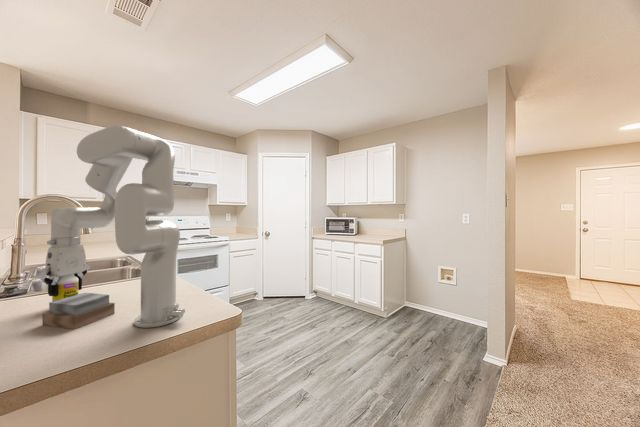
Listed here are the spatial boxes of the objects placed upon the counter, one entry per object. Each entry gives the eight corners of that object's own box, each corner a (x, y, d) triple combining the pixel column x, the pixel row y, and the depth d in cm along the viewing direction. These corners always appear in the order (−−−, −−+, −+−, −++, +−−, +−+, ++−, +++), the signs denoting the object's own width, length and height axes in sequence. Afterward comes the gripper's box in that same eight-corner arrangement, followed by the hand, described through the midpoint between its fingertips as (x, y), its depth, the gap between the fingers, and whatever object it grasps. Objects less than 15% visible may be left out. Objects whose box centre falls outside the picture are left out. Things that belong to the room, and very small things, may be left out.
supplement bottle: (61, 311, 89) (62, 273, 89) (46, 309, 90) (47, 272, 90) (83, 304, 96) (83, 269, 95) (69, 302, 97) (69, 268, 97)
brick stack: (114, 313, 88) (114, 294, 88) (74, 329, 76) (74, 306, 76) (85, 310, 90) (85, 291, 90) (42, 325, 78) (42, 303, 78)
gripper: (44, 245, 83) (43, 301, 84) (99, 240, 101) (99, 286, 101) (26, 244, 85) (25, 299, 85) (83, 239, 102) (83, 285, 102)
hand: (65, 292), depth 93 cm, fingers closed on supplement bottle, 6 cm apart
